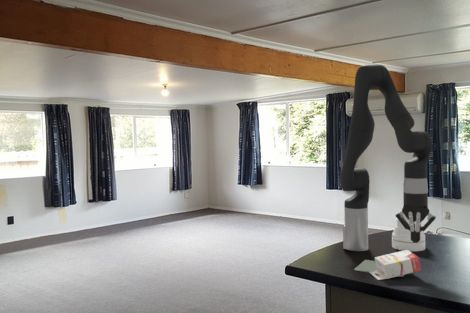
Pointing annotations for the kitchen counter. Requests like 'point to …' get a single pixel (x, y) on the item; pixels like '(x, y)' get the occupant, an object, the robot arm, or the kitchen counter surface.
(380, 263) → the ink cartridge box
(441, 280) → the kitchen counter surface
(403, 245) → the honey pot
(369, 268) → the mat
